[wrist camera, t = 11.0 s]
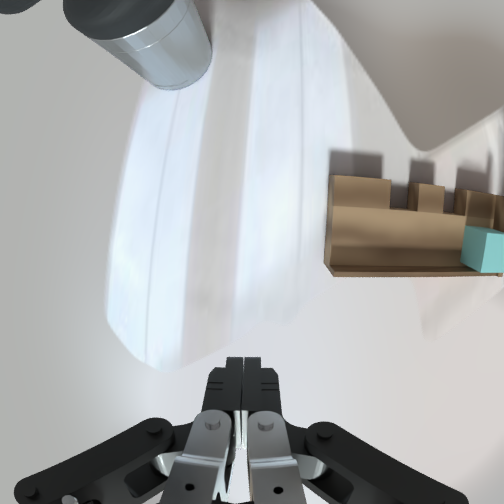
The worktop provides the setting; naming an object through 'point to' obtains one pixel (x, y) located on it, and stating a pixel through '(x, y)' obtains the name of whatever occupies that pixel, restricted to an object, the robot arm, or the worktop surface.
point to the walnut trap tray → (402, 229)
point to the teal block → (483, 249)
